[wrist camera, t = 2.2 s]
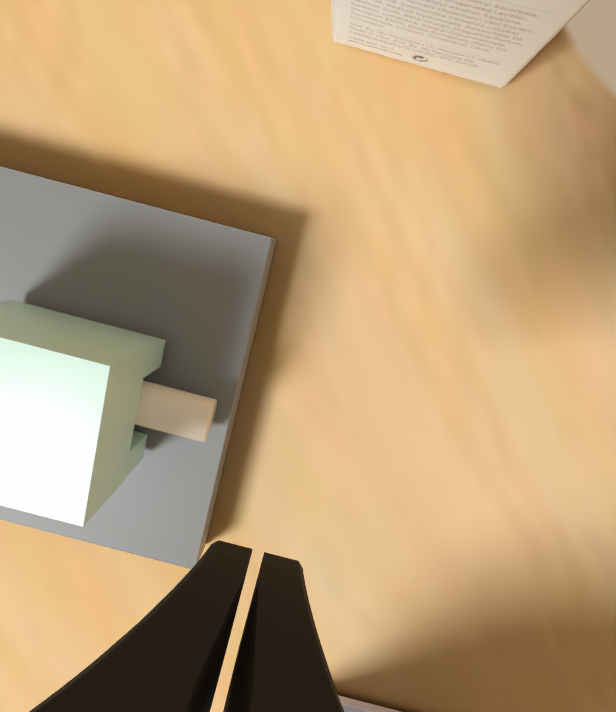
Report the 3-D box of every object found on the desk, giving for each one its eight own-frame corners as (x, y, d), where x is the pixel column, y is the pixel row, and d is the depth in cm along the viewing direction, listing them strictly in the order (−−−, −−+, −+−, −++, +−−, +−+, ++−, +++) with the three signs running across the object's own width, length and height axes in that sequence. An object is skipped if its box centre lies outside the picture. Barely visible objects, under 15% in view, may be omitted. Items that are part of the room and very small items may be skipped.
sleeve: (166, 337, 15) (109, 365, 12) (142, 461, 16) (83, 526, 12) (13, 296, 15) (-94, 312, 12) (-2, 423, 16) (-106, 477, 12)
